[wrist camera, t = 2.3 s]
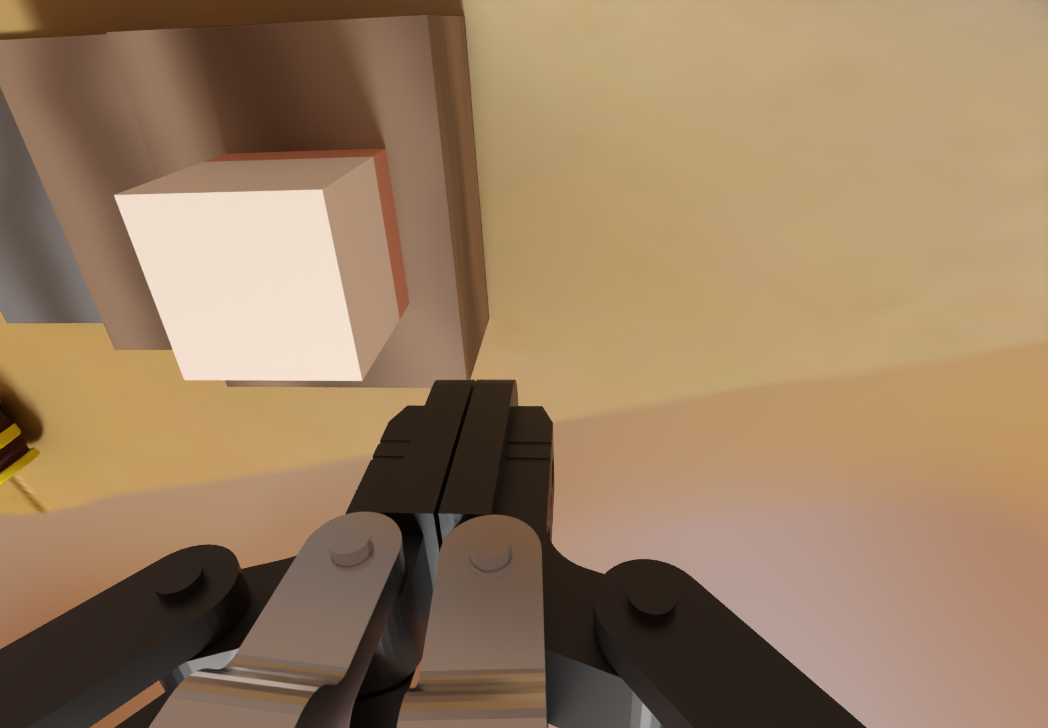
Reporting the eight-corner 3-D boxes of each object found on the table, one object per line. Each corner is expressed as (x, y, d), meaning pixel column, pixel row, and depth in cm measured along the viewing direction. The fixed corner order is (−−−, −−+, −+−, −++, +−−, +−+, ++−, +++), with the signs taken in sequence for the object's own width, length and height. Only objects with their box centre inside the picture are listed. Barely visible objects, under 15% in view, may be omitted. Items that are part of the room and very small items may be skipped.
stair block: (464, 16, 25) (426, 15, 19) (489, 318, 32) (467, 387, 26) (-130, 48, 28) (-329, 56, 22) (11, 320, 35) (-110, 384, 29)
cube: (385, 148, 21) (322, 189, 16) (409, 303, 24) (362, 381, 19) (225, 153, 22) (113, 194, 17) (267, 304, 25) (184, 379, 20)
